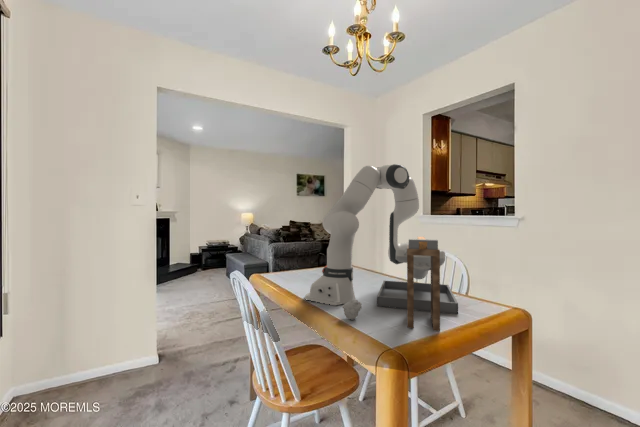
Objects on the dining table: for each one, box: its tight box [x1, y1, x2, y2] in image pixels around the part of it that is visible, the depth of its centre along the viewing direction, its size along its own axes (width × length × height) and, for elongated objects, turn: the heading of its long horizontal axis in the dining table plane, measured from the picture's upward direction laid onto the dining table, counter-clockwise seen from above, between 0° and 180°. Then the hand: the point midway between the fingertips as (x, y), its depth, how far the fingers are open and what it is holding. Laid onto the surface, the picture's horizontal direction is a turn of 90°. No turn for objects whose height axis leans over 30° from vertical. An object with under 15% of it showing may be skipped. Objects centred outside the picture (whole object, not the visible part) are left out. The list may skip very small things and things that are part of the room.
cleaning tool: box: [408, 236, 439, 250], centre depth 104 cm, size 9×22×3 cm, turn 162°
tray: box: [376, 280, 459, 315], centre depth 126 cm, size 30×30×4 cm
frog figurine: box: [341, 299, 363, 321], centre depth 102 cm, size 6×7×7 cm
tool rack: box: [406, 245, 441, 332], centre depth 98 cm, size 10×12×26 cm
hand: (420, 249), depth 118 cm, fingers open, 8 cm apart
